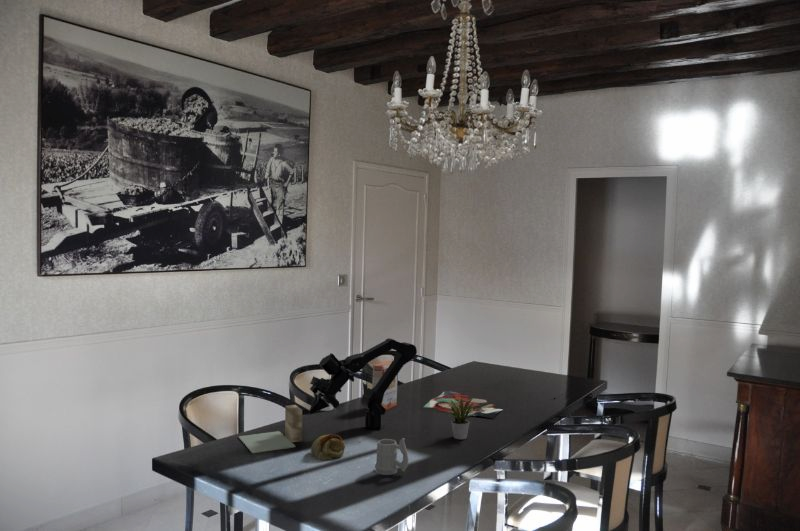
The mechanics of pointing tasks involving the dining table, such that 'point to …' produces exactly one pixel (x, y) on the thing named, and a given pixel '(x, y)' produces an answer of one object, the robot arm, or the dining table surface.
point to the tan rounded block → (293, 423)
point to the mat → (266, 442)
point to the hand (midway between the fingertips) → (309, 413)
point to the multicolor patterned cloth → (444, 407)
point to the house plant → (460, 419)
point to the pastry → (328, 447)
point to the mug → (390, 456)
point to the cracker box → (391, 392)
